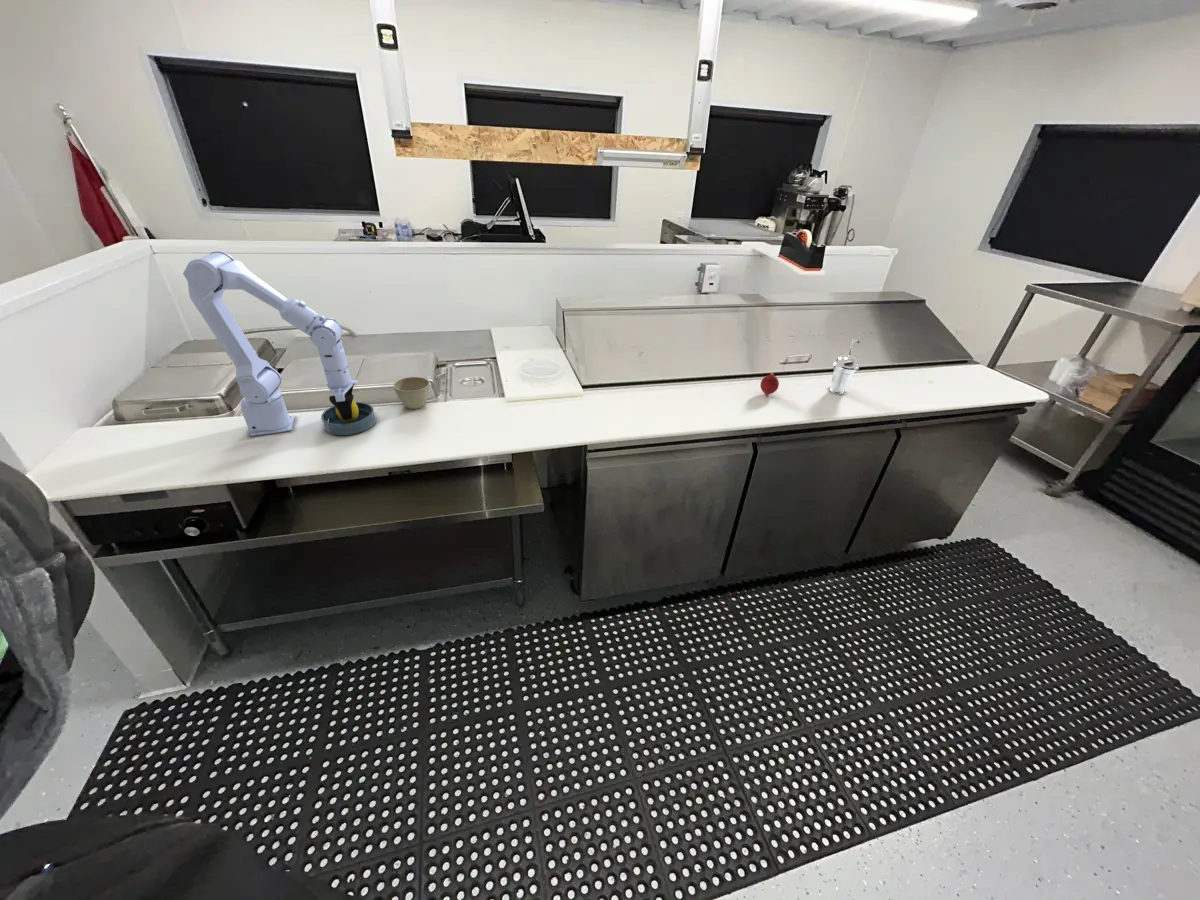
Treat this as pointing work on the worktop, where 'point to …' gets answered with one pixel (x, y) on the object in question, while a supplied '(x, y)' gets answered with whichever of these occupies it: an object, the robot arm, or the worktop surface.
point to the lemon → (354, 413)
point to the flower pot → (412, 391)
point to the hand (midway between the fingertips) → (348, 413)
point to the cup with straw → (843, 370)
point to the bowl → (345, 428)
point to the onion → (769, 384)
